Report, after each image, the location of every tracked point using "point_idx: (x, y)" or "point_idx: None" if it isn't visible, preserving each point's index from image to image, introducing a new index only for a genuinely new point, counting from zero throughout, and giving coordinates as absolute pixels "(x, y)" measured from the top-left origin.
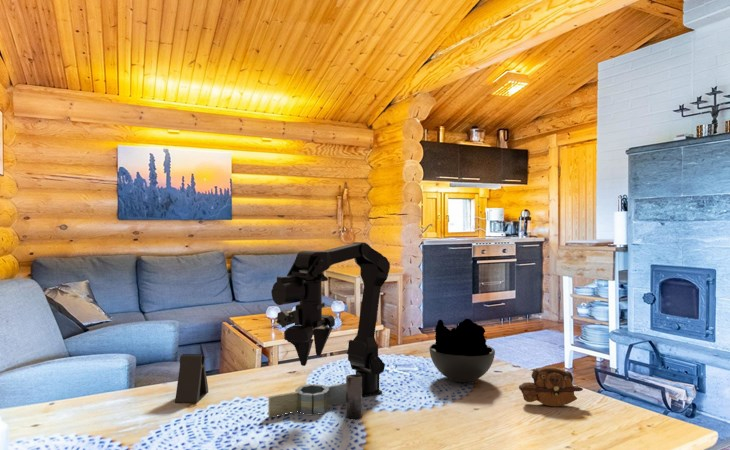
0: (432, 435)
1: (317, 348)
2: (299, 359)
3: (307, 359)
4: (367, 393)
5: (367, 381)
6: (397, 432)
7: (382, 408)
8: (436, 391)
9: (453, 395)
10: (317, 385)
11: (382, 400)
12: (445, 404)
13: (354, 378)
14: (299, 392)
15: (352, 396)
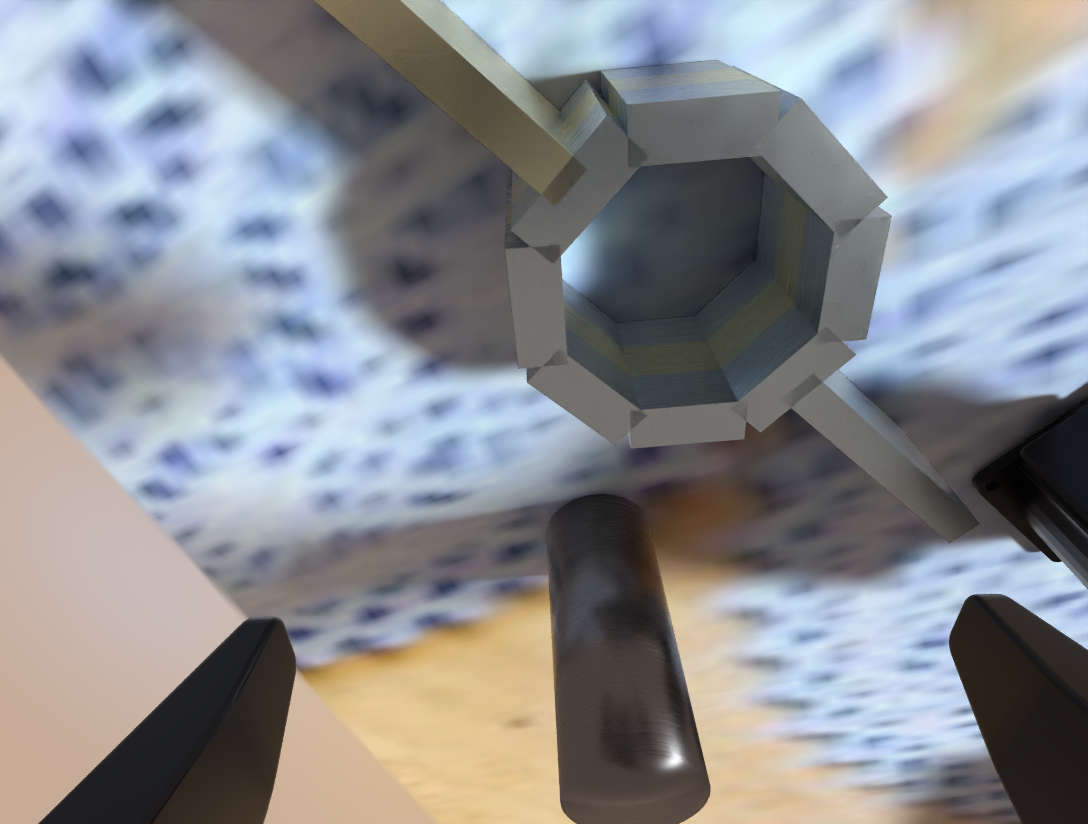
0: (509, 811)
1: (1062, 744)
2: (144, 720)
3: (250, 808)
4: (1016, 498)
5: (1079, 566)
6: (479, 729)
7: (771, 615)
8: None
9: (1006, 794)
10: (842, 287)
11: (911, 583)
12: (875, 791)
13: (590, 810)
14: (553, 205)
15: (553, 670)
